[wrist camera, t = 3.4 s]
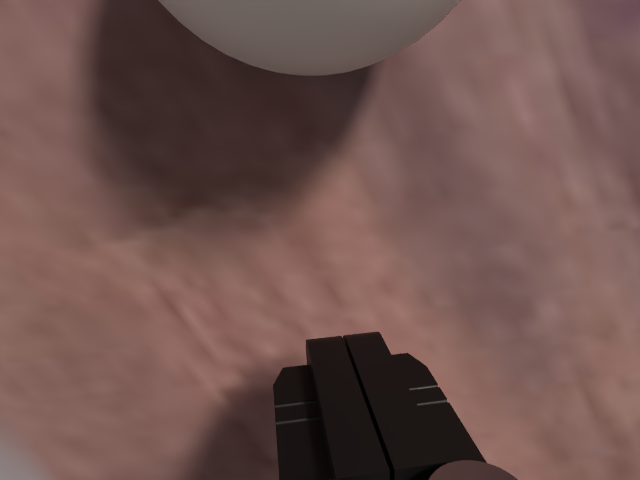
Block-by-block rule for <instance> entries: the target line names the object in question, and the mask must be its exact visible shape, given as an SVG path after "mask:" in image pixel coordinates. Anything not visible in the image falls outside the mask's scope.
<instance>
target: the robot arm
mask: <svg viewBox="0 0 640 480" xmlns="http://www.w3.org/2000/svg"><path fill="white" fill-rule="evenodd" d="M306 357H307V365H303V366H294V367H286V368H283V369H282V370H281V372H280V374H279V376H278V378H277V379H276V381H275V383H274V385H273V389H274V404H275V419H276V435H277V450H278V465H279V480H518V479H516V478H515V477H514V476H512V475H511V474H509V473H508V472H506V471H505V470H503V469H501V468H499V467H496V466H494V465H491V464H488V463H486V461H485V459H484V458H483V456H482V455H481V453H480V451H479V450H478V448H477V446H476V445H475V443H474V442H473V440H472V438H471V437H470V435H469V434H468V432H467V430H466V429H465V427H464V426H463V424H462V422H461V421H460V419H459V418H458V416H457V414H456V413H455V411H454V410H453V408H452V406H451V405H450V403H447V398H446V397H445V395H444V393H443V392H442V390H441V389H440V387H439V388H438V384H437V382H436V381H435V379H434V377H433V376H432V374H431V373H430V371H429V369H428V368H427V366H425V365H424V364H423V363H421V362H420V361H418V360H417V359H415V358H414V357H413V356H411V355H410V354H408V353H404V354H395V355H391V353H390V351H389V349H388V347H387V345H386V344H385V342H384V340H383V338H382V336H381V334H380V333H379V332H371V333H362V334H353V335H344V336H343V338H342V336H336V337H327V338H318V339H309V340H306Z"/></svg>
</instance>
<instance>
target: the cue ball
mask: <svg viewBox="0 0 640 480" xmlns="http://www.w3.org/2000/svg"><path fill="white" fill-rule="evenodd" d="M158 1H159V2H160V3H161V4H162V5H163V6H164V7H165V8H166V9H167V10H168V11H169V12H170V13H171V14H172V15H173V16H174V17H175V18H176V19H177V20H178V21H179V22H180V23H181V24H182V25H183V26H185V27H186V28H187V29H189V30H190V31H191V32H192V33H194V34H195V35H196V36H198V37H199V38H200V39H201V40H203V41H204V42H206V43H208V44H209V45H211V46H213V47H214V48H216V49H218V50H219V51H221V52H223V53H224V54H226V55H228V56H230V57H233V58H235V59H237V60H239V61H242V62H244V63H246V64H249V65H251V66H255V67H258V68H262V69H265V70H269V71H272V72H277V73H284V74H291V75H298V76H324V75H331V74H339V73H346V72H350V71H353V70H357V69H360V68H364V67H367V66H370V65H372V64H375V63H377V62H379V61H382V60H384V59H386V58H388V57H391V56H392V55H394V54H396V53H398V52H399V51H401V50H403V49H404V48H406V47H407V46H409V45H411V44H412V43H414V42H416V41H417V40H419V39H420V38H421V37H423V36H424V35H425V34H426V33H428V32H429V31H430V30H431V29H433V28H434V27H435V26H436V25H438V24H439V23H440V22H441V21H442V20H443V19H444V18H445V17H446V16H447V15H448V14H449V13H450V11H451V10H452V9H453V8H454V7H455V6H456V5H457V4H458V3H459V2H460V1H461V0H158Z"/></svg>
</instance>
